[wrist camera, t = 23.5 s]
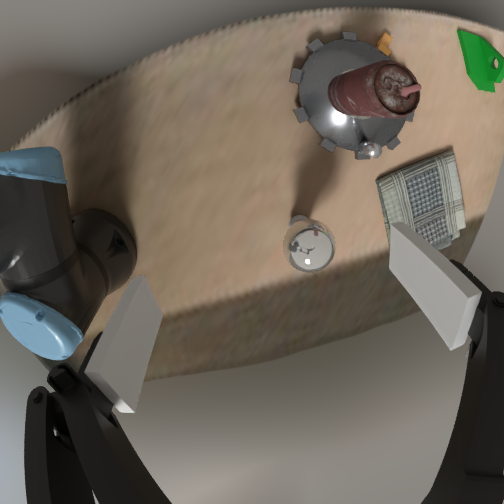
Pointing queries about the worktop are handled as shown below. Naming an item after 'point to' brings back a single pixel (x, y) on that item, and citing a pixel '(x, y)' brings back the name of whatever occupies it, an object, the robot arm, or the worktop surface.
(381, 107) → the can
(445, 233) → the dish towel
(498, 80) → the bracket
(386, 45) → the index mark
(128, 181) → the worktop surface
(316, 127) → the sprocket
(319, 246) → the light bulb
